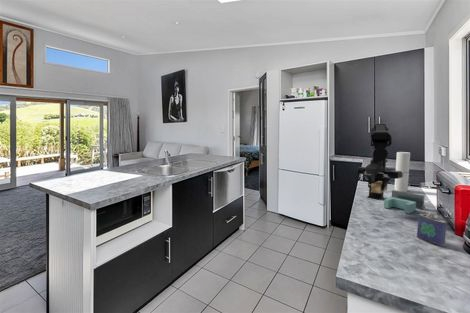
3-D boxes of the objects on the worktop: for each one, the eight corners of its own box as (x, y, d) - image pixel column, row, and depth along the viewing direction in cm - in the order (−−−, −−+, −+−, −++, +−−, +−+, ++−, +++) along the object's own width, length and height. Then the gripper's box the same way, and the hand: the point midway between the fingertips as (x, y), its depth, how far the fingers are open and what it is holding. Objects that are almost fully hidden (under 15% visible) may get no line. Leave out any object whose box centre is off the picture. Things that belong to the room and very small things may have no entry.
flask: (446, 246, 83) (449, 216, 82) (440, 248, 82) (442, 217, 81) (419, 235, 92) (422, 208, 91) (413, 236, 91) (415, 209, 90)
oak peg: (370, 191, 117) (371, 183, 117) (378, 188, 124) (378, 180, 123) (379, 193, 114) (380, 185, 114) (386, 189, 121) (387, 182, 120)
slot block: (383, 207, 124) (384, 199, 123) (390, 204, 128) (391, 196, 128) (409, 213, 115) (409, 205, 114) (415, 210, 119) (416, 201, 119)
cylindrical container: (409, 192, 154) (412, 153, 151) (397, 191, 155) (399, 153, 152) (404, 189, 161) (407, 152, 158) (392, 189, 162) (394, 151, 159)
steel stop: (391, 203, 132) (391, 190, 131) (394, 201, 134) (395, 189, 133) (422, 209, 120) (423, 196, 120) (424, 208, 123) (426, 194, 122)
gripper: (351, 157, 119) (349, 188, 120) (393, 161, 103) (390, 196, 105) (362, 155, 125) (361, 185, 127) (404, 159, 110) (401, 192, 111)
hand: (377, 189), depth 117 cm, fingers closed on oak peg, 4 cm apart
